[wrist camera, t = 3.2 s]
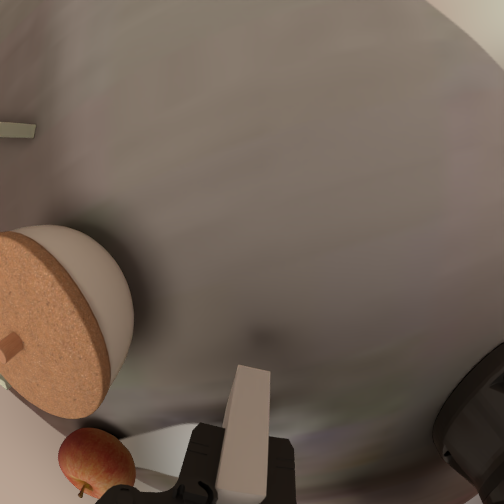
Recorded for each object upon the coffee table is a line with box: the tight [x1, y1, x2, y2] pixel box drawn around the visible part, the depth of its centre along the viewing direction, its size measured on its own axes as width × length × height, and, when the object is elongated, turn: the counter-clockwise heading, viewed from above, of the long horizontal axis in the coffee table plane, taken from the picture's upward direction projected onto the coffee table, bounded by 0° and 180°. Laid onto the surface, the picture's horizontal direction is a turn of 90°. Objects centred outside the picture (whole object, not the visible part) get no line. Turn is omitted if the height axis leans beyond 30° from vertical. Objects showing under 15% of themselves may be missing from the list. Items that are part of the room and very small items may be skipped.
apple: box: [58, 428, 136, 499], centre depth 19 cm, size 8×8×8 cm
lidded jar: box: [0, 225, 134, 419], centre depth 14 cm, size 11×11×9 cm
